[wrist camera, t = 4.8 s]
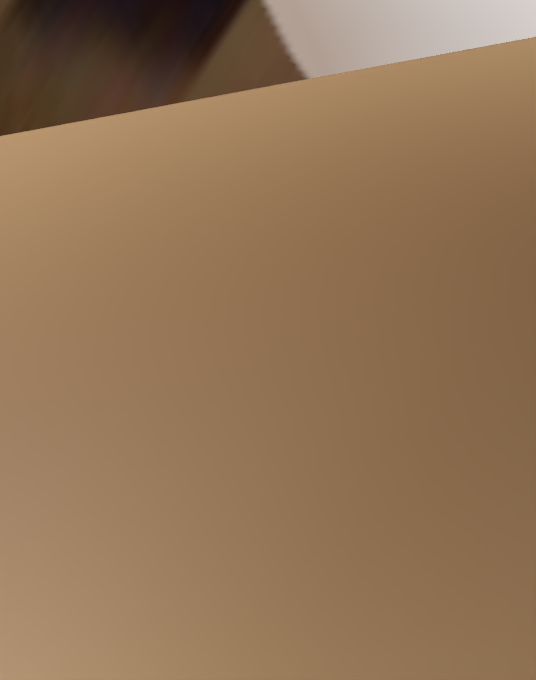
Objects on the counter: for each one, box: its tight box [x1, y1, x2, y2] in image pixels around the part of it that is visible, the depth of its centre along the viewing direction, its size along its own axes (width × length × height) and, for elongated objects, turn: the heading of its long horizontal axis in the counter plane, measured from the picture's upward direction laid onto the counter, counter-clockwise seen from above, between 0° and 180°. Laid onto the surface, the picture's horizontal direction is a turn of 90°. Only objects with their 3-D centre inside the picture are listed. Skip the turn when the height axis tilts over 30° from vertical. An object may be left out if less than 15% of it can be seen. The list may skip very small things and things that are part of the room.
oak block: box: [0, 37, 536, 680], centre depth 8 cm, size 5×5×12 cm
